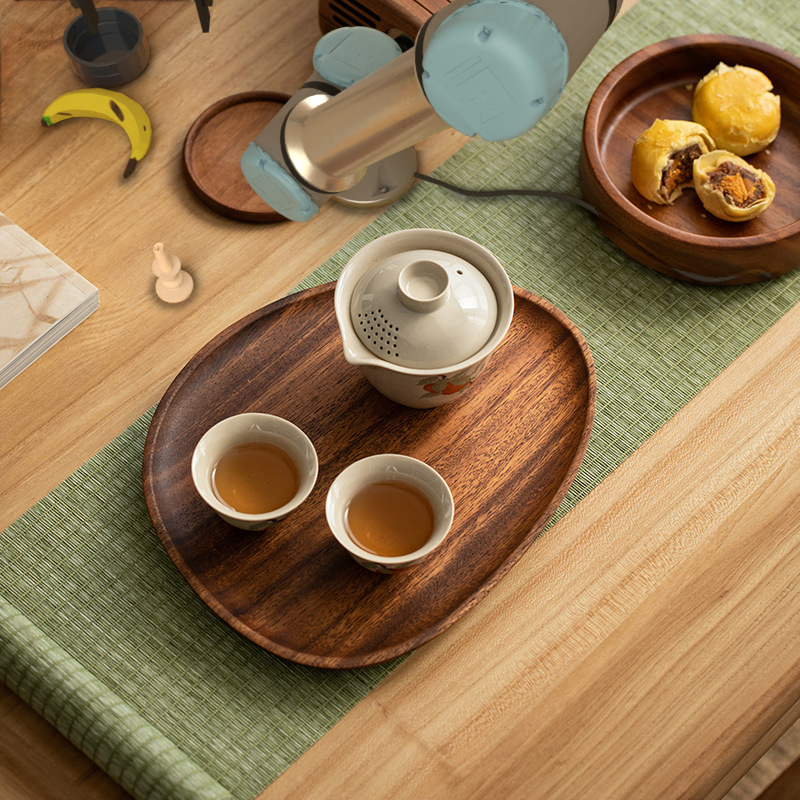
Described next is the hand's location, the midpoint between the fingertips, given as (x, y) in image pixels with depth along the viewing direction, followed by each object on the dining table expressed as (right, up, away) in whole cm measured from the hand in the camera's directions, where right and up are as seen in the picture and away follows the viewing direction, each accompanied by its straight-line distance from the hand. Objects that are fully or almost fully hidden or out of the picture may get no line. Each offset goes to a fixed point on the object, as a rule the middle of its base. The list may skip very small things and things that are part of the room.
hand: (150, 25), depth 113 cm
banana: (-15, -7, +27) cm, 31 cm away
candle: (-1, -30, +16) cm, 34 cm away
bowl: (-15, +8, +33) cm, 37 cm away
